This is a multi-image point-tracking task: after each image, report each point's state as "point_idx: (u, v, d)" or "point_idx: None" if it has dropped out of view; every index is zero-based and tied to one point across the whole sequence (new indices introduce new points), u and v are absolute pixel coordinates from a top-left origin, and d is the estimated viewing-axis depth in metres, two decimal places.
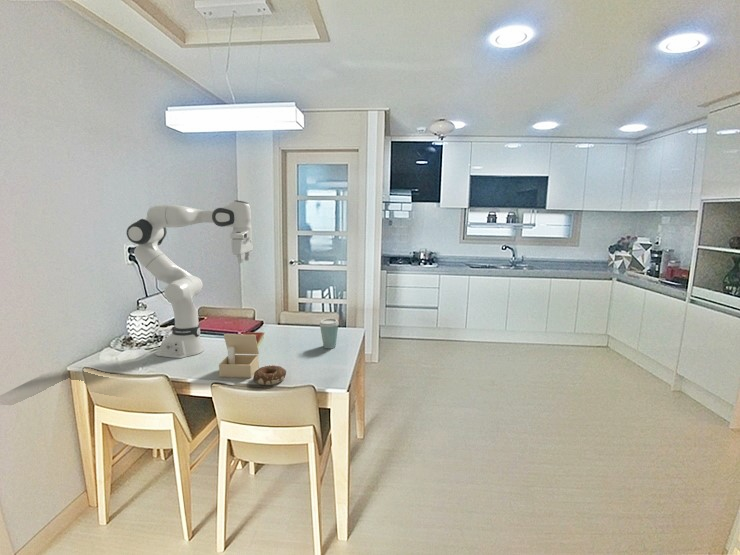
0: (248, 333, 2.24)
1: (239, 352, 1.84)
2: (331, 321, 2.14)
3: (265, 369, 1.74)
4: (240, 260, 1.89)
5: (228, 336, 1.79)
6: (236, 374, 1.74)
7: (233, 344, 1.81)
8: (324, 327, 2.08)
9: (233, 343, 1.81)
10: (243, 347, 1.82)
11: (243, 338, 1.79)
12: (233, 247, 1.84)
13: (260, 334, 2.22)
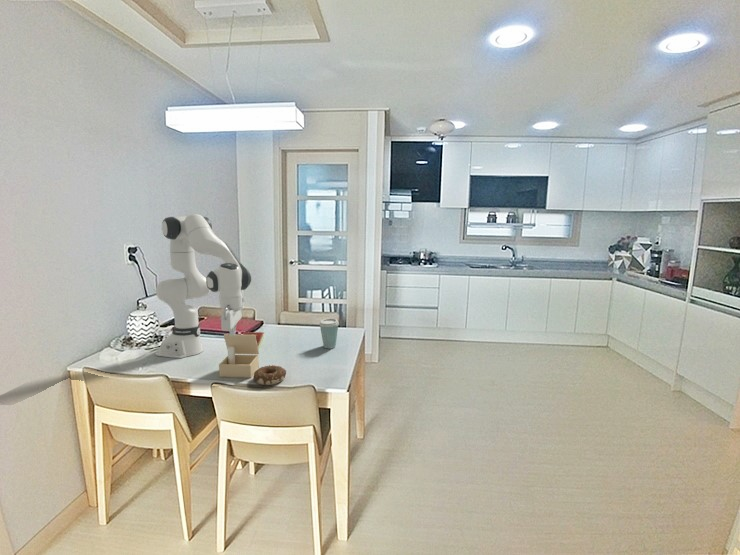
0: (248, 333, 2.24)
1: (239, 352, 1.84)
2: (331, 321, 2.14)
3: (265, 369, 1.74)
4: None
5: (228, 336, 1.79)
6: (236, 374, 1.74)
7: (233, 344, 1.81)
8: (324, 327, 2.08)
9: (233, 343, 1.81)
10: (243, 347, 1.82)
11: (243, 338, 1.79)
12: None
13: (260, 334, 2.23)
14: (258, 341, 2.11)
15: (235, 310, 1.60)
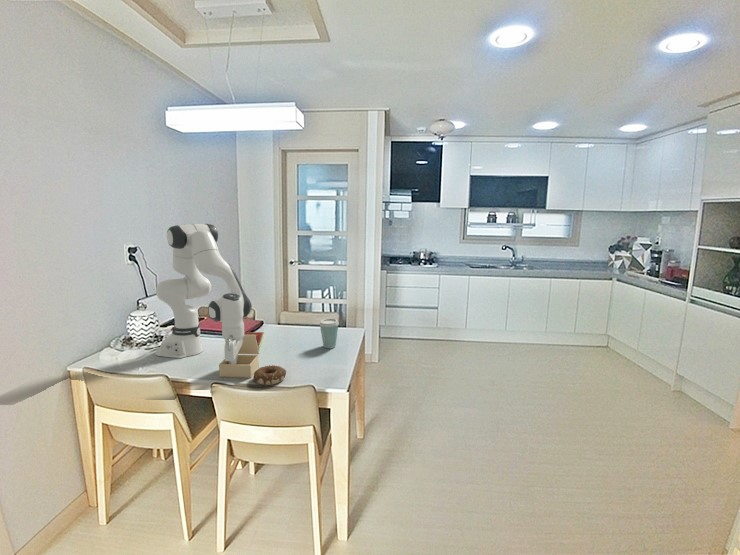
0: (247, 333, 2.23)
1: (239, 352, 1.84)
2: (331, 321, 2.14)
3: (265, 369, 1.74)
4: None
5: None
6: (236, 374, 1.74)
7: None
8: (324, 327, 2.08)
9: None
10: (243, 347, 1.82)
11: (243, 338, 1.79)
12: None
13: (260, 334, 2.23)
14: (259, 341, 2.11)
15: (237, 340, 1.63)
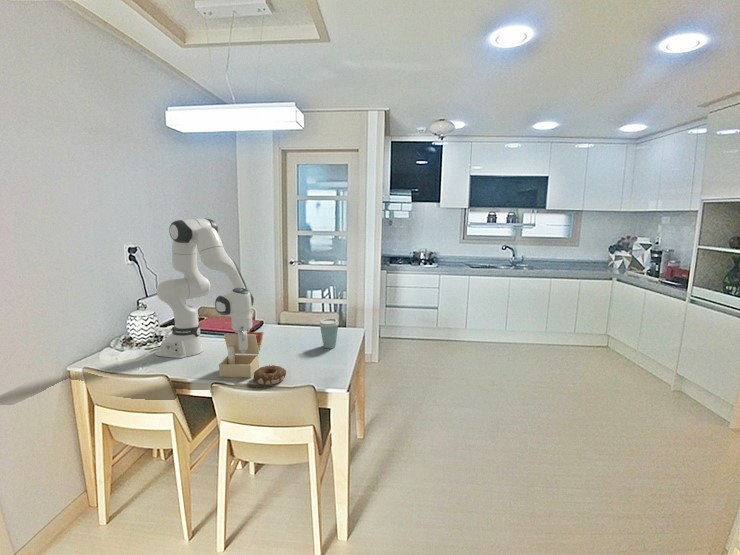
0: (247, 333, 2.23)
1: (239, 352, 1.84)
2: (331, 321, 2.14)
3: (265, 369, 1.74)
4: None
5: (228, 336, 1.79)
6: (236, 374, 1.74)
7: (233, 344, 1.81)
8: (324, 327, 2.08)
9: (233, 343, 1.81)
10: None
11: None
12: None
13: (260, 334, 2.23)
14: (259, 341, 2.11)
15: (247, 331, 1.75)
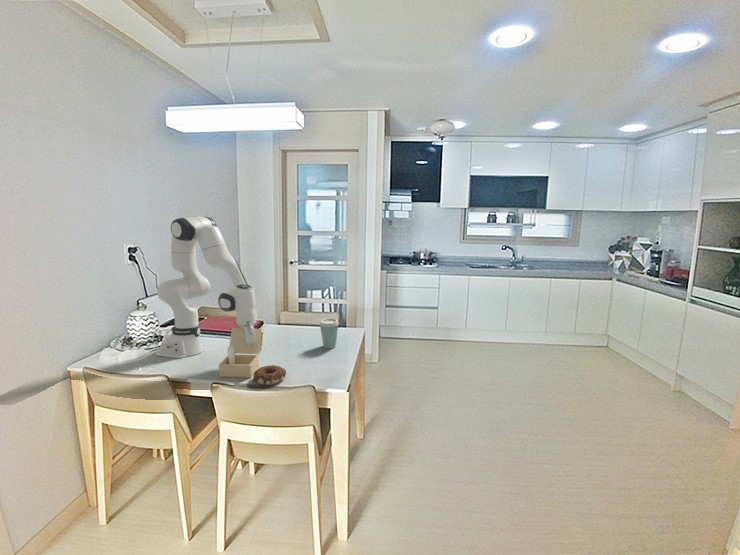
0: None
1: (240, 351, 1.85)
2: (331, 321, 2.14)
3: (265, 369, 1.74)
4: None
5: (235, 330, 1.88)
6: (236, 374, 1.74)
7: (237, 340, 1.87)
8: (324, 327, 2.08)
9: (237, 339, 1.87)
10: None
11: None
12: None
13: None
14: (260, 341, 2.11)
15: (252, 325, 1.82)
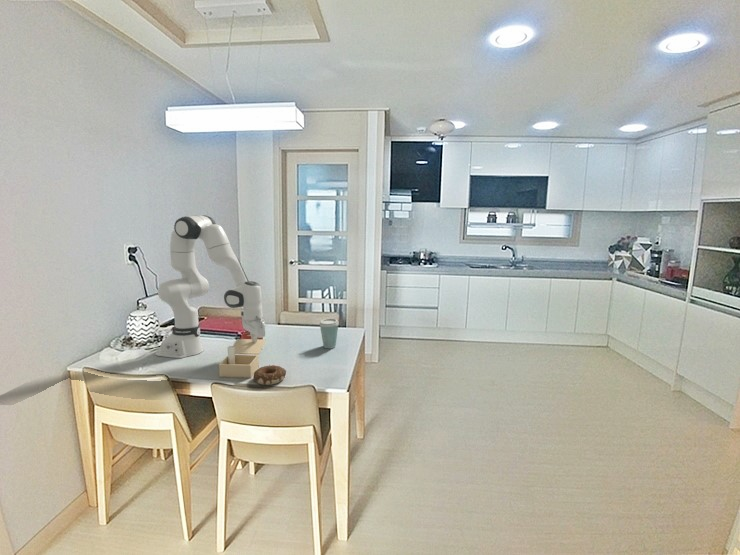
0: (247, 333, 2.23)
1: (240, 352, 1.86)
2: (331, 321, 2.14)
3: (265, 369, 1.74)
4: None
5: (240, 340, 1.95)
6: (236, 374, 1.74)
7: (240, 345, 1.91)
8: (324, 327, 2.08)
9: (240, 345, 1.91)
10: (248, 348, 1.89)
11: None
12: None
13: None
14: None
15: None
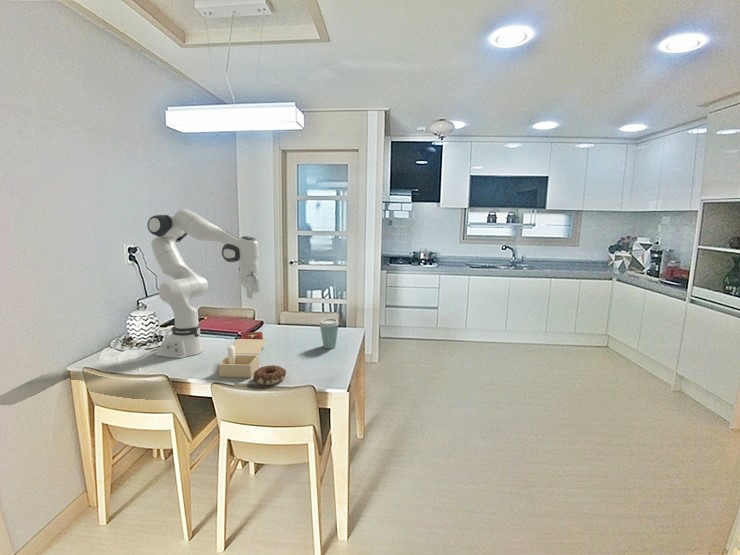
0: (246, 333, 2.23)
1: (240, 352, 1.86)
2: (331, 321, 2.14)
3: (265, 369, 1.74)
4: None
5: (240, 340, 1.95)
6: (236, 374, 1.74)
7: (240, 345, 1.91)
8: (324, 327, 2.08)
9: (240, 345, 1.91)
10: (248, 348, 1.89)
11: (253, 341, 1.94)
12: None
13: (259, 334, 2.23)
14: None
15: (255, 276, 1.89)
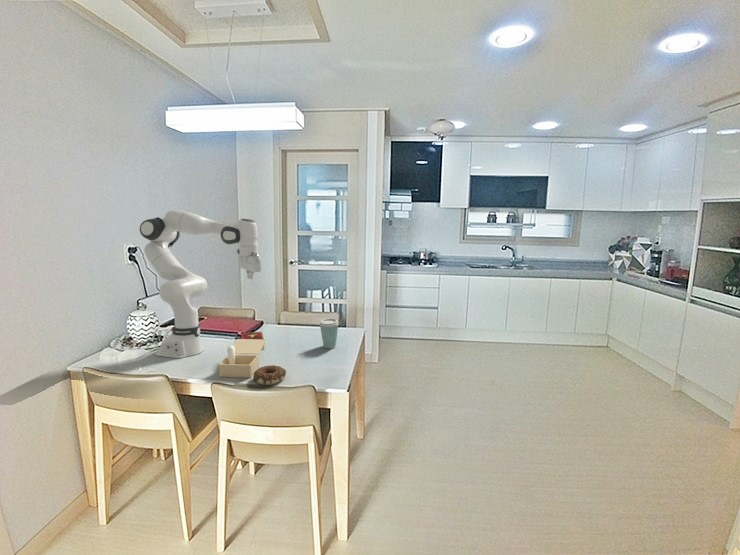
0: (246, 334, 2.23)
1: (240, 352, 1.86)
2: (331, 321, 2.14)
3: (265, 369, 1.74)
4: None
5: (240, 340, 1.95)
6: (236, 374, 1.74)
7: (240, 345, 1.91)
8: (324, 327, 2.08)
9: (240, 345, 1.91)
10: (248, 348, 1.89)
11: (253, 341, 1.94)
12: None
13: (259, 333, 2.23)
14: None
15: None
